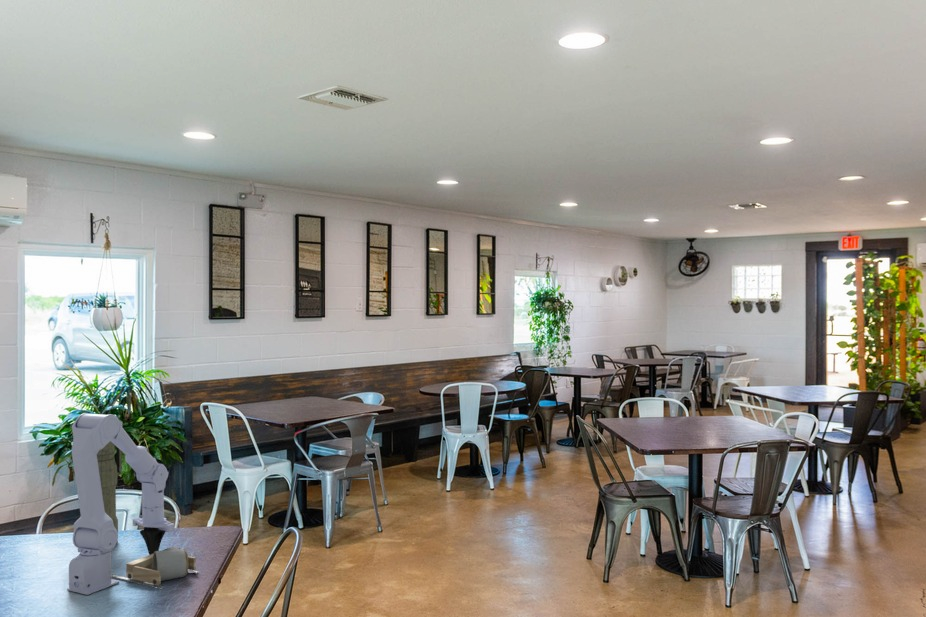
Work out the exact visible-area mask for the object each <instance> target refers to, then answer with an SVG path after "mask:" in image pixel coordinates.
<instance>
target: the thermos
mask: <svg viewBox="0 0 926 617" xmlns="http://www.w3.org/2000/svg"><path fill="white" fill-rule="evenodd" d="M115 447H116V448H115ZM115 449H116V450H115ZM115 452H116V457H115ZM122 453H123V452H122V451H121V450H120V449H119V448H118V447H117V446H115V445H114V444H113V443H112V442H111V441H110V442H109V443H108V444H107V445H106V446H105V447H104V448H102V449H101V450H99V451H98V453H97V461H98V468H99V475H100V482H101V489H102V496H103V503H104V510H105V513H106V514H107V515H108V516H109V517H110V518H111V519H112V520H113V524H114V527H115V528H116V530H117V532H118V533H119V519H118V516H117V496H116V493H117V492H116V491H117V490H116V489H117V488H116V487H117V486H118V477H119V475H122V469H123V468H122V467H123V464H122V462H123V460H122V457H123V456H122ZM115 459H116V460H115ZM118 542H119V540H117V543H118Z"/></svg>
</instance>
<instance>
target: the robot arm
mask: <svg viewBox="0 0 926 617" xmlns="http://www.w3.org/2000/svg"><path fill="white" fill-rule="evenodd" d="M71 430H72V438H73V439H72V444H71V445H72V446H71V457H72V465H73V466H72V467H73V470H74V480H75V485H76V486H75V487H76V492H77V499H78V500H77V501H78V504H79V506H78V507H79V512H80V517H79V518H78V519H77V520H76V521H75V522H74V523H73V534H72V543H73V545H74V546H75V548H77V552H78V553H79V554H78V555H77V556H76V557H73V558H72V559H71V560H70V561H69V564H68V565H69V566H68V587H67V588H66V590H67V591H70V592H74V593H77V594H82V595H86V596H87V595H88V596H89V595H91V594H94V593H97V592H99V591H101V590H104V589H107V588H109V587H112V586H114V585H116V584H119V583H120V580H119V579H115V578H111V574H112V551H114V548H115V547H116V545H117V543H118V542H117V540H118V539H119V531H118V532H117V530H116V528H115V527H114V524H113V520H112V519H111V518H110V517H109V516H108V515H107V514H106V513H105V510H104V503H103V496H102V489H101V482H100V475H99V468H98V461H97V453H98V451H99V450H101V449H102V448H104V447H105V446H106V445H107V444H108V443H109V442H110V441H111V442H112V443H113V444H114V445H115V447H116V446H117V447H118V448H119V449H120V450H121V451H122V453H123V454H124V456H125V457H124V461H125V462H126V463H127V464H128V465H129V467H130V468H131V469H132V470H133V471H134V472H135V477H136V480H137V481H138V482H139V483H141V517H139V516H138V517H135V518H133V519H132V527H143V529H141V530H140V531H139V533H140V535H141V538H142V539H143V541H144V542H145V546H146V549H147V552H148V555H151V554H154V552H155V551H160V546H161V543H162V540H163V538H164V536H165V534H166V533H171V532H174V531H175V523H172V522H170V521H168V520H167V518H166V517H165V496H164V495H165V489H166V482H167V480H168V477H169V473H170V472H169V471H168V470H167V469H168V468H167V467H166V466H165V465H164V464H163V463H159V462H158V461H157V458H155V457H154V456H152V455H151V454H150V452H149V451H148V448H147V447H146V446H143V445H136V443H135V442H134V441H133V439H132V438H131V437H130V435H129V434H128V433H127V432H126V430H125V429H124V428H123V421H121V420H120V419H119V418H118V416H117V415H115V414H111V413H109V414H102V413H101V414H98V413H97V414H96V413H90V412H89V413H88V412H83V413H81V414H80V415H78V416H77V418H76V419H75V421H74V422H73V424H72V425H71ZM118 541H119V540H118Z"/></svg>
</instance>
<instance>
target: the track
mask: <svg viewBox="0 0 926 617" xmlns="http://www.w3.org/2000/svg"><path fill="white" fill-rule="evenodd" d="M193 571H194V573H197V572H199V571H198V570H193ZM111 579H114V580H118V581H125V582H127V583H132V582H133V584H137V585H141V584H142V586H145V585H147V586H146V587H150V586H153V587H152V588H154V587H157V588H156V589H158V588H162V589H164V588H165V585H161V584H159V585H158V584H153V583H149V582H145V581H140V580H136V579H132V578H131V579H129V578H127V577H125V576H121V575H118V574H117V575H116V574H112V573H111ZM163 587H164V588H163Z"/></svg>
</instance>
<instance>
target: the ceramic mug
mask: <svg viewBox="0 0 926 617" xmlns="http://www.w3.org/2000/svg"><path fill="white" fill-rule="evenodd" d="M162 550H163V551H162ZM162 550H159V551H155V552H154V554H153V561H152V567H153V570H156V571H161V582H162V581H168V580H173V579H174V578H175V579H179V577H180V578H182V577H186V575H187V574H188V573H187V572H188V556H189V555H188V552H187V550H186V549H183V548H180V549H175V550H165V549H162Z"/></svg>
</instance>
